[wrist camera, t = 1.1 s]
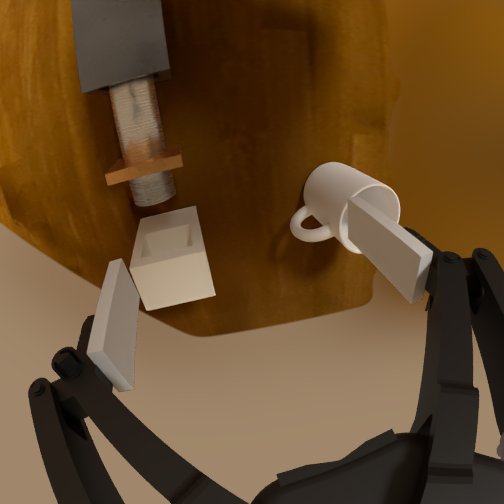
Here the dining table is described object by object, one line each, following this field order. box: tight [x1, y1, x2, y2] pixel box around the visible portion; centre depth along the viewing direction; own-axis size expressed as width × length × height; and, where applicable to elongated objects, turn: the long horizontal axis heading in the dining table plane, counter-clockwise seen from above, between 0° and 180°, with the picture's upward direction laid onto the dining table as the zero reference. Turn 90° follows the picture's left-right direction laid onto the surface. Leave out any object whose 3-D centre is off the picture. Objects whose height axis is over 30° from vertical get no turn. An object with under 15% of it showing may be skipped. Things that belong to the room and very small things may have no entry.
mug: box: [290, 162, 400, 254], centre depth 35 cm, size 12×8×10 cm
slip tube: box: [105, 74, 183, 206], centre depth 21 cm, size 20×6×6 cm, turn 7°
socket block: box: [129, 206, 216, 311], centre depth 32 cm, size 5×7×12 cm
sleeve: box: [72, 0, 172, 95], centre depth 20 cm, size 10×7×11 cm
